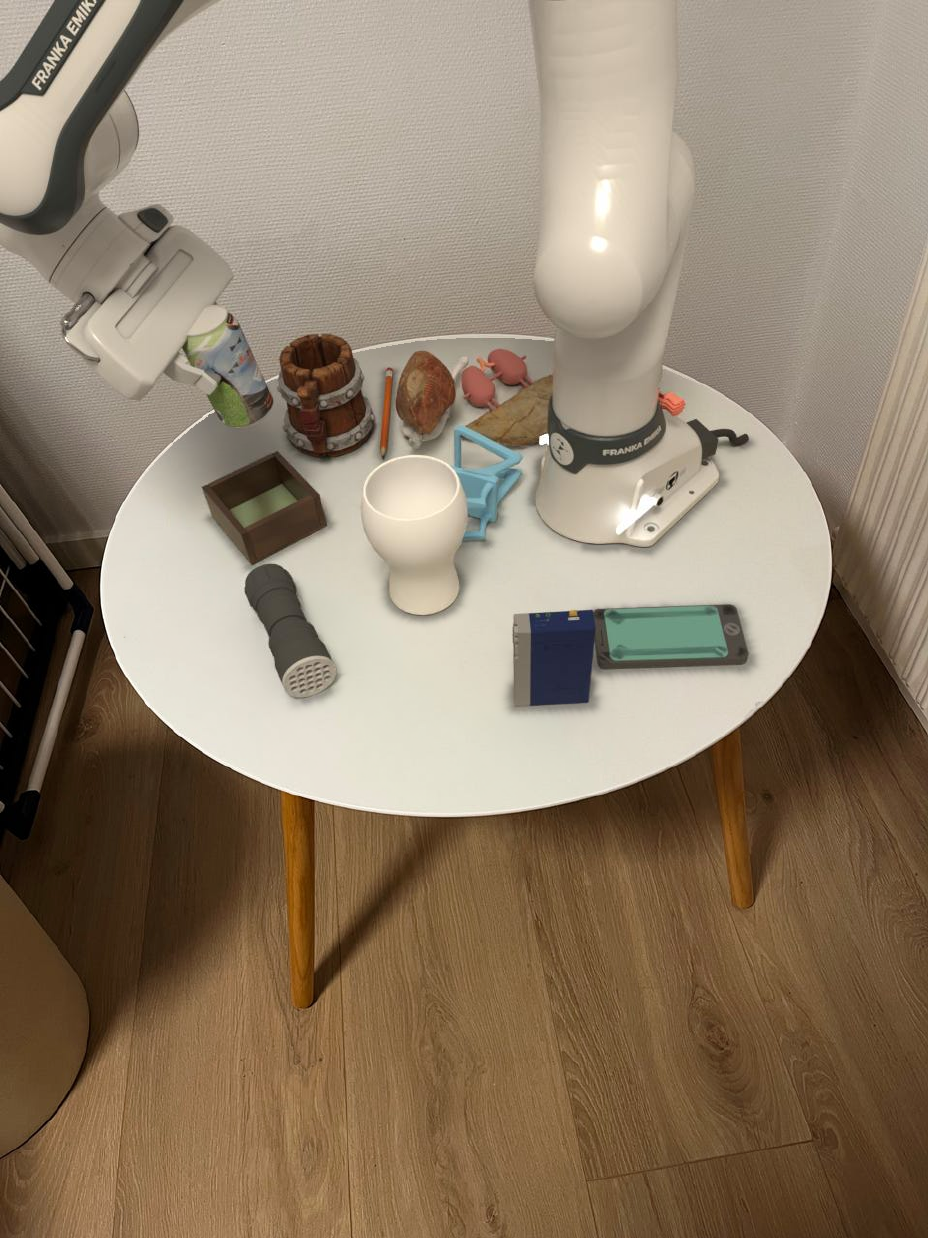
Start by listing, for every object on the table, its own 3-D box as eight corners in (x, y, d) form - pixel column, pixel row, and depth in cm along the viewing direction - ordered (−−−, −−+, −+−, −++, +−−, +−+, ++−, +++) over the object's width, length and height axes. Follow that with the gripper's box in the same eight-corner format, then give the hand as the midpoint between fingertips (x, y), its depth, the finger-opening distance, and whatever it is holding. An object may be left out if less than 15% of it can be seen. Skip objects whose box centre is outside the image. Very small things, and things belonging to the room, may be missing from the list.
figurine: (468, 356, 120) (442, 434, 108) (471, 382, 123) (446, 461, 111) (417, 356, 122) (386, 434, 110) (421, 382, 125) (391, 460, 113)
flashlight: (246, 601, 100) (234, 568, 95) (293, 584, 101) (282, 551, 97) (289, 704, 90) (278, 672, 86) (340, 684, 92) (331, 651, 88)
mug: (381, 395, 121) (364, 307, 108) (373, 480, 114) (354, 397, 101) (295, 397, 122) (268, 310, 109) (282, 481, 115) (251, 399, 102)
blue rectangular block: (586, 683, 90) (593, 606, 81) (589, 703, 89) (597, 626, 79) (512, 687, 90) (511, 611, 81) (514, 707, 89) (513, 631, 80)
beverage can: (280, 427, 94) (253, 323, 85) (210, 442, 93) (175, 339, 84) (271, 393, 98) (245, 291, 89) (204, 408, 97) (170, 306, 88)
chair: (520, 488, 110) (488, 557, 103) (456, 472, 111) (420, 539, 104) (524, 439, 103) (490, 510, 97) (456, 423, 105) (418, 491, 98)
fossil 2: (441, 343, 116) (485, 407, 116) (392, 383, 119) (435, 446, 119) (411, 334, 104) (460, 405, 104) (357, 379, 107) (405, 449, 107)
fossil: (644, 398, 117) (642, 409, 118) (566, 359, 123) (565, 369, 124) (533, 475, 107) (533, 485, 108) (455, 427, 113) (456, 438, 115)
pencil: (386, 372, 125) (393, 372, 125) (379, 461, 113) (386, 461, 113) (386, 366, 125) (392, 366, 125) (378, 456, 113) (385, 456, 113)
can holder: (285, 481, 112) (277, 450, 108) (327, 525, 107) (319, 494, 103) (212, 517, 108) (201, 486, 105) (251, 565, 103) (241, 534, 99)
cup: (456, 634, 95) (446, 533, 83) (362, 615, 97) (340, 514, 86) (484, 562, 101) (479, 459, 90) (395, 546, 104) (379, 443, 92)
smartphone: (750, 657, 90) (599, 662, 90) (747, 664, 91) (598, 669, 91) (735, 601, 94) (592, 606, 95) (733, 608, 95) (591, 613, 96)
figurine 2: (538, 385, 124) (504, 347, 124) (547, 371, 121) (512, 332, 121) (477, 428, 119) (442, 388, 119) (485, 414, 116) (448, 373, 116)
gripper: (62, 310, 76) (200, 416, 82) (168, 195, 88) (281, 294, 94) (37, 350, 80) (170, 449, 86) (141, 235, 93) (251, 328, 98)
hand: (229, 367), depth 90 cm, fingers closed on beverage can, 5 cm apart
